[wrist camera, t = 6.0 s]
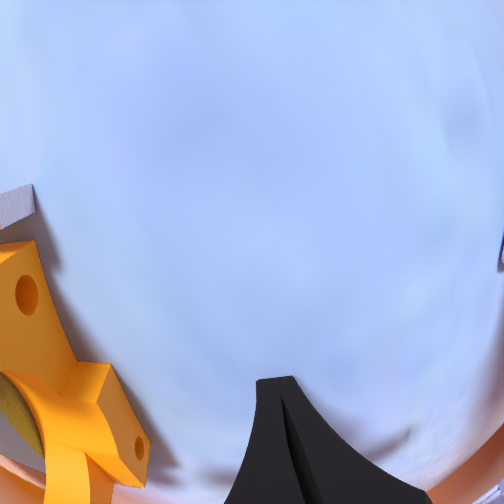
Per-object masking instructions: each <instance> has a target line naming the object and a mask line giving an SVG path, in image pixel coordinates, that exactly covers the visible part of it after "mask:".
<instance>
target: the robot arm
mask: <svg viewBox="0 0 504 504" xmlns="http://www.w3.org/2000/svg"><path fill="white" fill-rule="evenodd" d="M502 263H503V264H504V248H503V252H502ZM256 400H257V401H256V411H255V416H254V422H253V427H252V432H251V435H250V439H249V443H248V447H247V450H246V453H245V456H244V459H243V462H242V465H241V467H240V470H239V473H238V475H237V477H236V480H235V482H234V484H233V487H232V489H231V491H230V493H229V495H228V497H227V499H226V501H225V502H224V504H433V503H432V501H431V500H430V498H429V497H428V495H427V494H426V492H425V491H423V490H421V489H418V488H416V487H414V486H411V485H409V484H407V483H405V482H403V481H401V480H399V479H397V478H395V477H394V476H392V475H390V474H388V473H387V472H385V471H384V470H382V469H380V468H379V467H377V466H376V465H374V464H373V463H371V462H370V461H368V460H367V459H366V458H364V457H363V456H362V455H361V454H359V453H358V452H357V451H356V450H354V449H353V448H352V447H351V446H350V445H349V444H347V443H346V442H345V441H344V440H343V439H342V438H341V437H340V436H339V435H338V434H337V433H336V432H335V431H334V430H333V429H332V428H331V427H330V426H329V425H328V423H327V422H326V421H325V420H324V419H323V418H322V416H321V415H320V414H319V413H318V412H317V410H316V409H315V408H314V407H313V405H312V404H311V403H310V401H309V400H308V399H307V397H306V396H305V394H304V393H303V391H302V390H301V388H300V387H299V385H298V384H297V382H296V380H295V378H294V377H293V376H285V377H277V378H268V379H259V380H258V381H256ZM472 504H504V479H502V480H501V481H500V482H499V483H497V484H496V485H495V486H494V487H492V488H491V489H490V490H488V491H487V492H486V493H485V494H483V495H482V496H481V497H480V498H479V499H477V500H476V501H475V502H473V503H472Z"/></svg>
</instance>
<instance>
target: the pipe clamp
mask: <svg viewBox="0 0 504 504" xmlns="http://www.w3.org/2000/svg"><path fill="white" fill-rule="evenodd" d="M0 372H2V373H3V374H4V375H5V376H6V377H7V378H9V380H10V381H11V382H12V383H13V384H14V385H15V386H16V388H17V389H18V390H19V391H20V393H21V394H22V396H23V397H24V399H25V401H26V402H27V404H28V406H29V408H30V410H31V412H32V414H33V417H34V419H35V421H36V424H37V427H38V430H39V433H40V437H41V441H42V445H43V450H44V456H45V464H46V492H45V499H44V503H43V504H111V500H112V494H113V488H114V483H118V484H124V485H130V486H137V487H144V488H145V485H146V477H147V469H148V461H149V454H150V447H151V442H150V441H149V439H148V437H147V435H146V434H145V432H144V430H143V428H142V426H141V425H140V423H139V421H138V419H137V417H136V415H135V413H134V411H133V410H132V408H131V406H130V404H129V402H128V400H127V398H126V395H125V393H124V391H123V389H122V387H121V385H120V383H119V380H118V378H117V376H116V374H115V371H114V369H113V367H112V364H109V363H94V362H81V361H77V359H76V357H75V355H74V353H73V351H72V349H71V346H70V344H69V342H68V339H67V337H66V335H65V332H64V330H63V327H62V325H61V322H60V320H59V317H58V314H57V312H56V309H55V306H54V303H53V300H52V298H51V295H50V292H49V288H48V285H47V282H46V279H45V276H44V272H43V269H42V265H41V261H40V258H39V254H38V250H37V246H36V242H35V240H29V241H22V242H14V243H7V244H0Z"/></svg>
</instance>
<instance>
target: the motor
mask: <svg viewBox="0 0 504 504" xmlns="http://www.w3.org/2000/svg"><path fill="white" fill-rule="evenodd" d="M34 212H36V209H35V203H34V197H33V190H32V184H28V185H24V186H21V187H17V188H13V189H10V190H6V191H3V192H0V229H3V228H5V227H7V226H9V225H10V224H12V223H14V222H16V221H18V220H20V219H22V218H24V217H26V216H28V215H30V214H32V213H34ZM0 454H1V455H3V456H5V457H7V458H9V459H12V460H14V461H16V462H18V463H20V464H23V465H25V466H28V467H30V468H32V469H35V470H38V471H40V472H43V473H46V464H45V456H44V450H43V445H42V441H41V437H40V433H39V430H38V427H37V424H36V421H35V419H34V417H33V414H32V412H31V410H30V408H29V406H28V404H27V402H26V401H25V399H24V397H23V396H22V394H21V393H20V391H19V390H18V389H17V388H16V386H15V385H14V384H13V383H12V382H11V381H10V380H9V378H7V377H6V376H5V375H4V374H3V373H2V372H0ZM114 484H116V485H122V486H128V487H135V488H142V487H137V486H130V485H124V484H118V483H114Z"/></svg>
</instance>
